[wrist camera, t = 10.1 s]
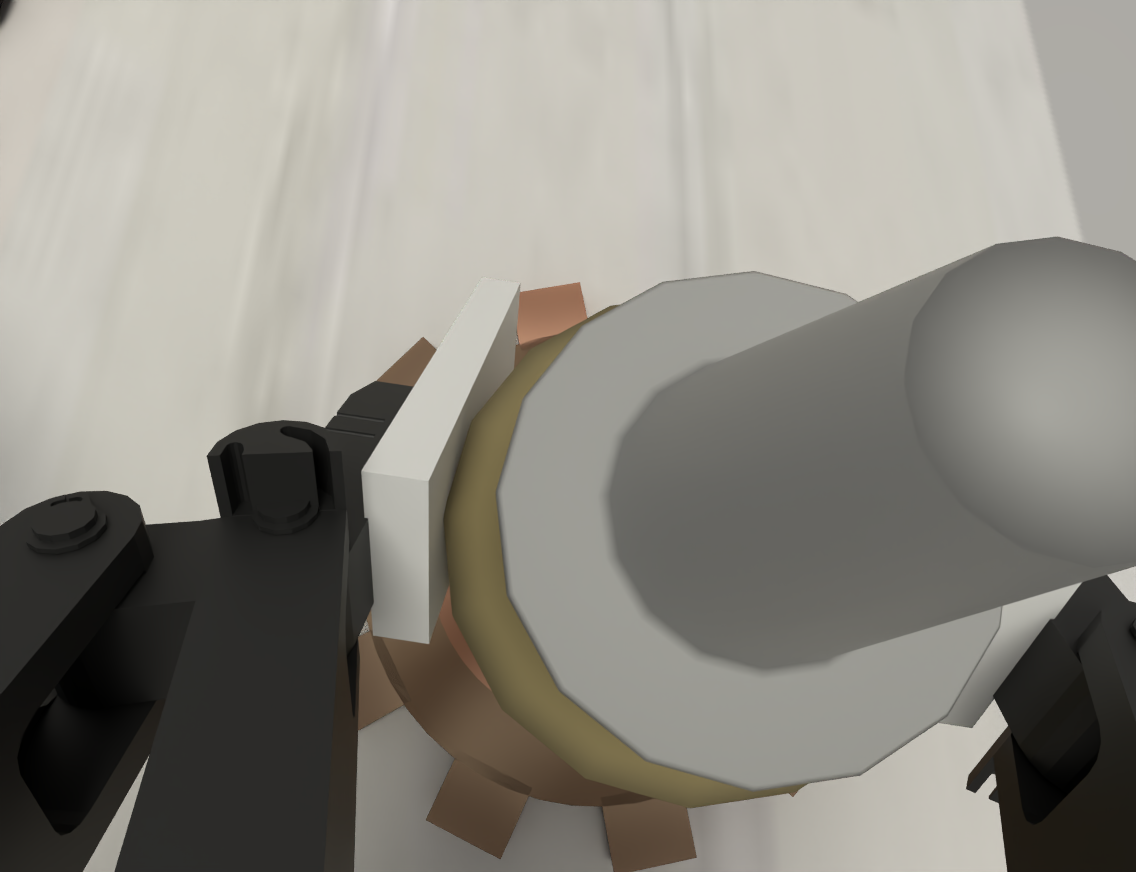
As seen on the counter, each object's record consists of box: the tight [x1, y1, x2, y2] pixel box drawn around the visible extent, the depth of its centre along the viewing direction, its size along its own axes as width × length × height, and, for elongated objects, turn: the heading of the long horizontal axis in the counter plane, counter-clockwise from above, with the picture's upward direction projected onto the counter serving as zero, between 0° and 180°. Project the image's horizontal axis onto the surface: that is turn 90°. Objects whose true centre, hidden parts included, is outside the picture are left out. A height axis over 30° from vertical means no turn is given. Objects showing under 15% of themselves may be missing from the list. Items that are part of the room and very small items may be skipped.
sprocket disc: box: [358, 282, 797, 872], centre depth 24 cm, size 21×21×2 cm
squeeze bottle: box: [443, 237, 1136, 808], centre depth 11 cm, size 8×8×18 cm
